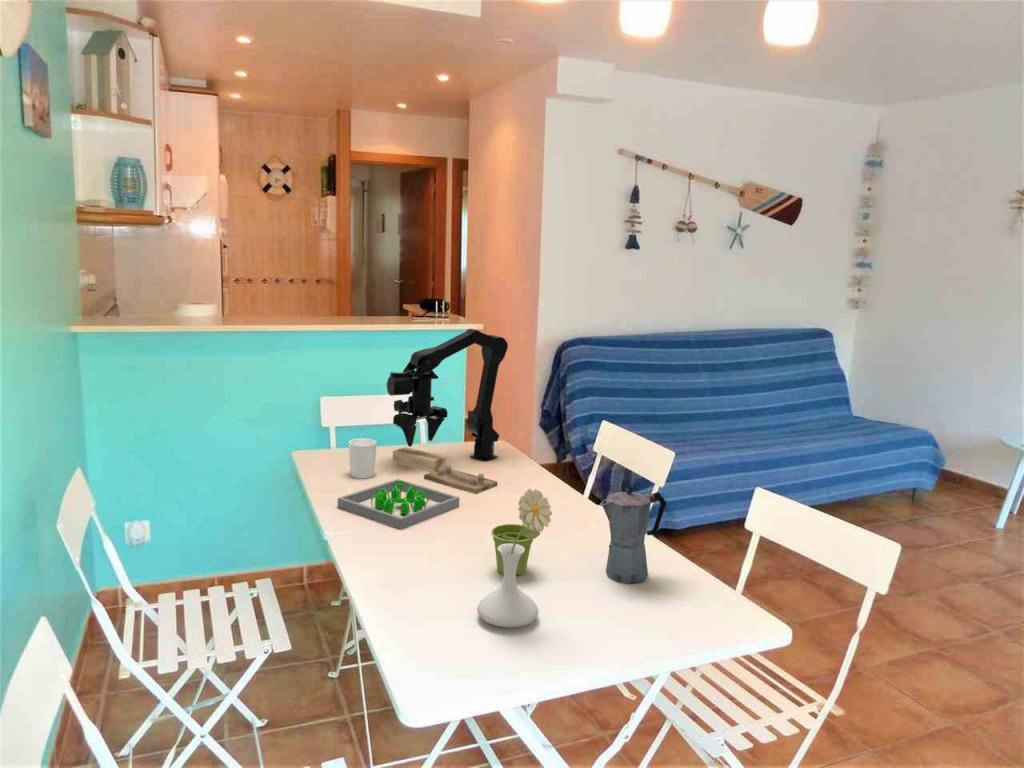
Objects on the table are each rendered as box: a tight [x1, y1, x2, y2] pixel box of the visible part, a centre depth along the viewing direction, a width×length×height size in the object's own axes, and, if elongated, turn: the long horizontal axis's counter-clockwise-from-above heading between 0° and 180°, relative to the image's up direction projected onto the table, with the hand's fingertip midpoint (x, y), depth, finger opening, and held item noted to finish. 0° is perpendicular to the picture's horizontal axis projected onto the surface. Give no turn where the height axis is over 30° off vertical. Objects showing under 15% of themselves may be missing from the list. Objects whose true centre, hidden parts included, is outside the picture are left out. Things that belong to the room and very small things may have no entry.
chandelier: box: [370, 480, 430, 516], centre depth 196 cm, size 15×15×7 cm
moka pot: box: [599, 485, 667, 584], centre depth 162 cm, size 10×15×20 cm, turn 113°
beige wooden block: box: [392, 446, 447, 473], centre depth 233 cm, size 6×16×4 cm, turn 59°
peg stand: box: [423, 464, 498, 494], centre depth 219 cm, size 10×19×3 cm, turn 55°
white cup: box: [348, 437, 378, 479], centre depth 220 cm, size 8×8×10 cm
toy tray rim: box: [337, 478, 460, 530], centre depth 196 cm, size 22×22×2 cm
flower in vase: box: [476, 488, 553, 628], centre depth 140 cm, size 13×11×25 cm
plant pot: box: [490, 523, 534, 576], centre depth 162 cm, size 9×9×9 cm
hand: (420, 443), depth 232 cm, fingers open, 9 cm apart
